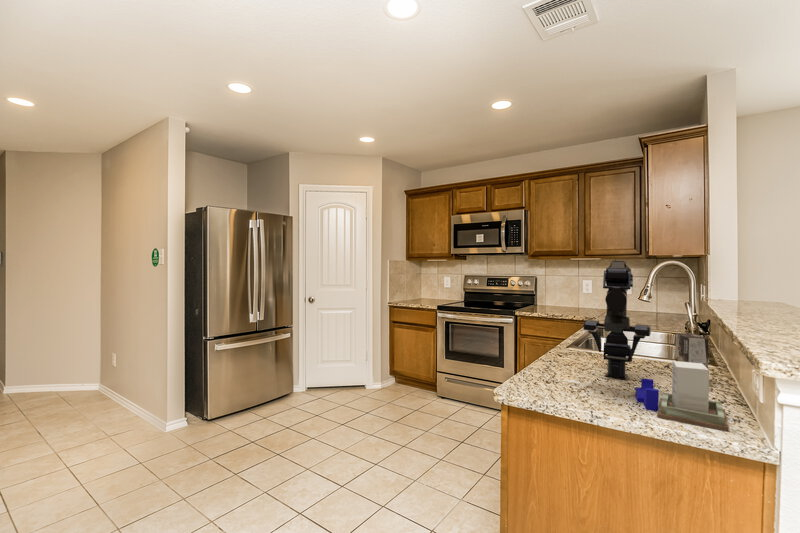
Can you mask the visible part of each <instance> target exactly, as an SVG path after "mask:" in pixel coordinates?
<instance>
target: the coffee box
mask: <svg viewBox="0 0 800 533" xmlns="http://www.w3.org/2000/svg"><path fill="white" fill-rule="evenodd" d="M709 340H710V338H708V337H705V336H703V335H699V334H695V333H675V361H680V362H691V363H702V364H703V365H704V366H705V367H706V368H707V369H708V370H709V344H710V342H709Z"/></svg>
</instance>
